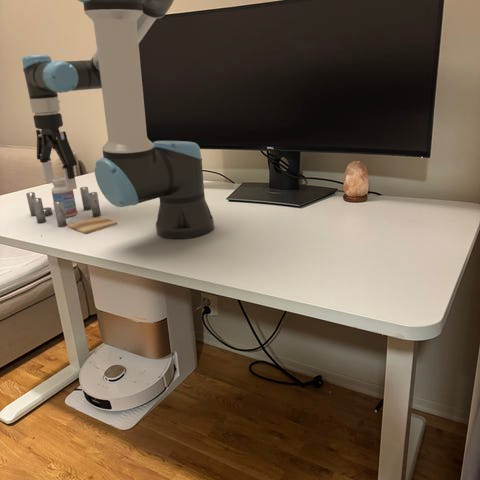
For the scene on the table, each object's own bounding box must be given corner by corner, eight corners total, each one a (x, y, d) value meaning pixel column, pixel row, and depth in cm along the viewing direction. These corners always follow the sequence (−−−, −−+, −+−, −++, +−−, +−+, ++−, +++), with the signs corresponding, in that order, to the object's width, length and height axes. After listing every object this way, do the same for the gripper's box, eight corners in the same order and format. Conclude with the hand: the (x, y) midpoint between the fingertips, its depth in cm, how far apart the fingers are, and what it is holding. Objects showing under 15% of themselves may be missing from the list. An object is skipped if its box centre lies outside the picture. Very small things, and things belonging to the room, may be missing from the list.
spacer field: (108, 213, 141) (104, 191, 139) (53, 229, 130) (48, 205, 127) (75, 203, 155) (71, 183, 152) (23, 217, 143) (18, 195, 141)
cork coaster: (117, 224, 131) (117, 222, 131) (85, 234, 124) (85, 232, 124) (99, 218, 137) (98, 216, 137) (67, 227, 131) (67, 225, 131)
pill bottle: (70, 218, 139) (63, 181, 135) (52, 218, 141) (45, 181, 137) (81, 212, 145) (74, 176, 141) (63, 212, 146) (56, 176, 142)
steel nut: (55, 213, 145) (54, 207, 144) (46, 217, 142) (44, 211, 141) (45, 213, 146) (44, 207, 146) (36, 217, 143) (34, 211, 142)
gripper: (81, 113, 127) (93, 189, 134) (40, 110, 143) (53, 178, 150) (54, 116, 122) (69, 195, 129) (15, 113, 138) (30, 183, 145)
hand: (60, 186), depth 140 cm, fingers open, 13 cm apart
